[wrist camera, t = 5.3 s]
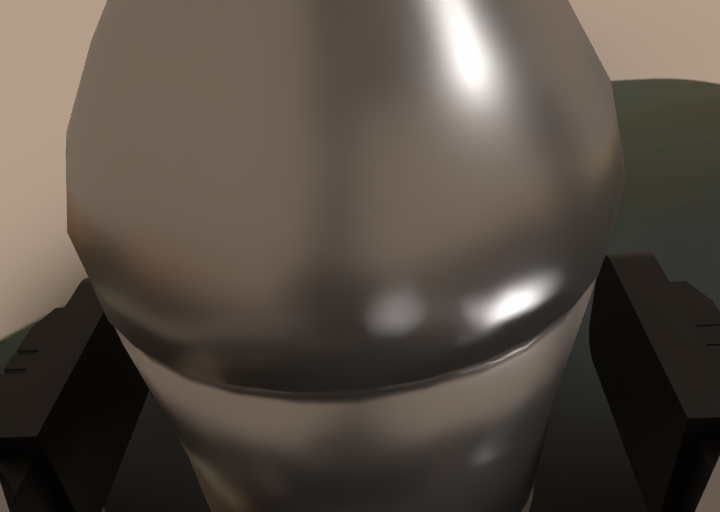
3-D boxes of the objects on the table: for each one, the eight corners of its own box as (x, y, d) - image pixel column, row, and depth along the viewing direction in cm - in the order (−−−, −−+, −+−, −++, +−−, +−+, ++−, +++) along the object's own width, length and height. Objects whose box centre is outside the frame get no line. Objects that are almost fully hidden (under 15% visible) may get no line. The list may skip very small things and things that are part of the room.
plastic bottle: (245, 609, 19) (-72, -346, 7) (474, 545, 20) (504, -377, 8) (277, 920, 13) (-654, -742, 2) (587, 810, 14) (1067, -698, 3)
